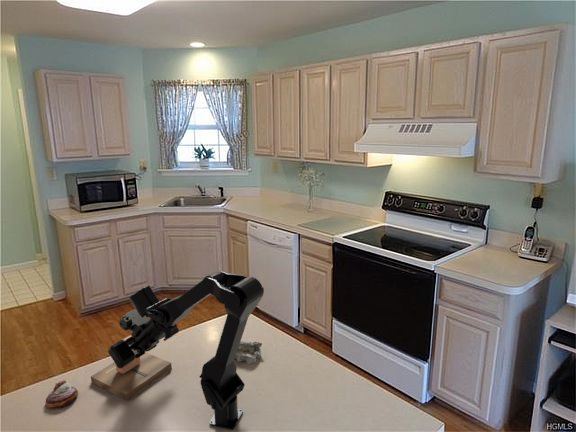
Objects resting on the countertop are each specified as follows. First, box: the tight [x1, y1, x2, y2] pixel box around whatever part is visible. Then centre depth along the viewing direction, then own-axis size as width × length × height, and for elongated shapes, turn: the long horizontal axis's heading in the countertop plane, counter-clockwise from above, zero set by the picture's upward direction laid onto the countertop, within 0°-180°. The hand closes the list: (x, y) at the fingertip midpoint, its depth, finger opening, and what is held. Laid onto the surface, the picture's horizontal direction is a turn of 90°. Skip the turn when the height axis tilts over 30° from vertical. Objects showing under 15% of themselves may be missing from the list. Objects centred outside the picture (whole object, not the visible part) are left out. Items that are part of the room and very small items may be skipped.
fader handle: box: [116, 334, 140, 374], centre depth 115 cm, size 4×7×8 cm, turn 150°
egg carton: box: [235, 341, 263, 365], centre depth 125 cm, size 11×8×4 cm
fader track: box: [90, 352, 172, 401], centre depth 116 cm, size 15×16×2 cm
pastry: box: [45, 380, 79, 410], centre depth 106 cm, size 8×8×5 cm
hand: (131, 353), depth 114 cm, fingers closed, pressing on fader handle
